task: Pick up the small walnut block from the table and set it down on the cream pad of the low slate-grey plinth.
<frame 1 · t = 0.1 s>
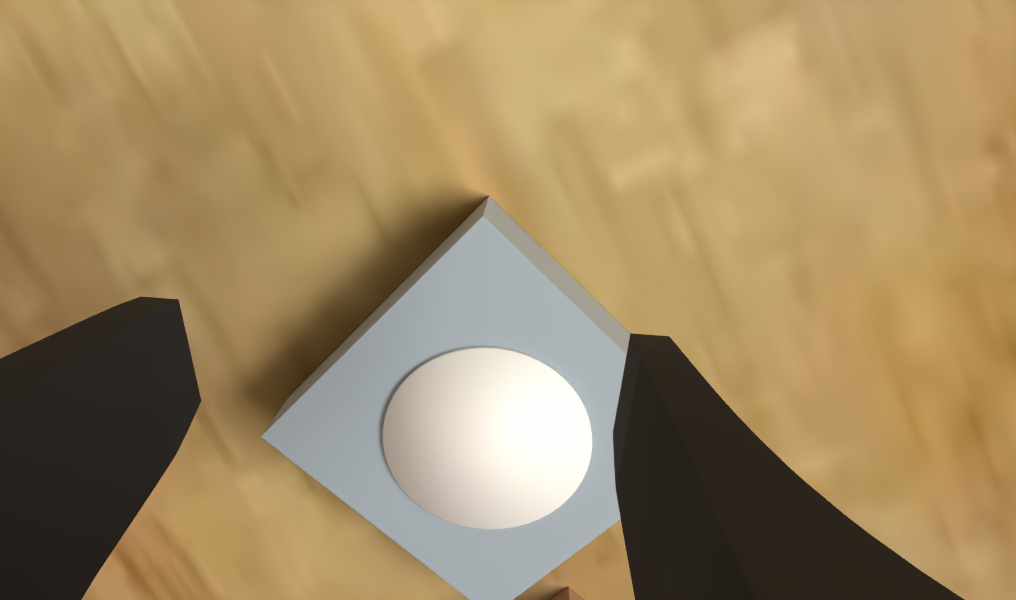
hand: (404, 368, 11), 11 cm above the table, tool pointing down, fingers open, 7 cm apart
plinth: (492, 400, 23), on the table
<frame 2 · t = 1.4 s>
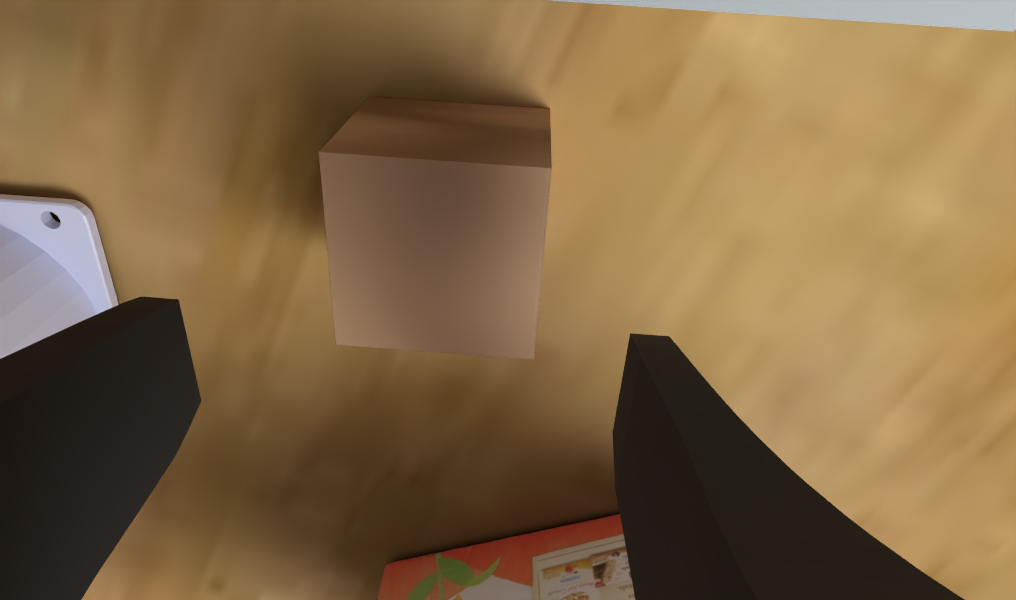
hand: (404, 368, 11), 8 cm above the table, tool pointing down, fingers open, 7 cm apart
cracker box: (582, 567, 26), on the table
walnut block: (458, 186, 18), on the table
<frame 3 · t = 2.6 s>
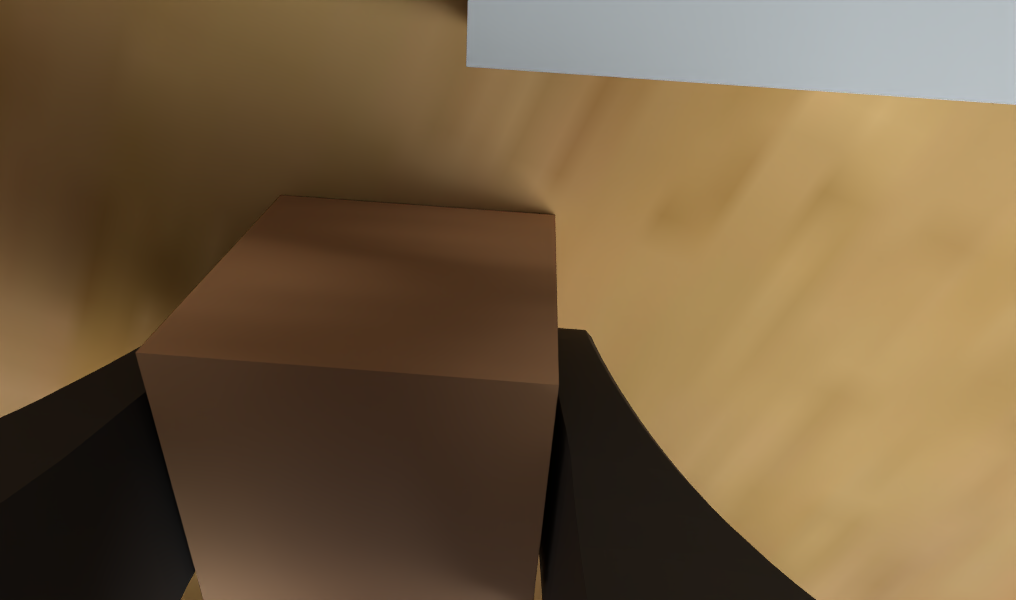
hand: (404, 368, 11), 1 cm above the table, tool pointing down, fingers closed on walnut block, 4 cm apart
walnut block: (419, 321, 12), on the table, touching gripper
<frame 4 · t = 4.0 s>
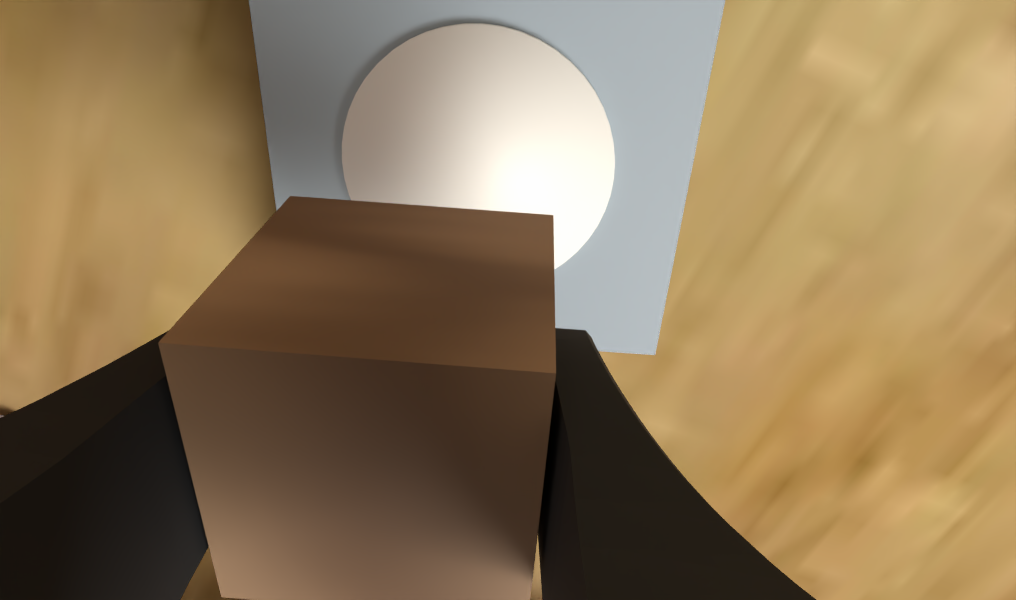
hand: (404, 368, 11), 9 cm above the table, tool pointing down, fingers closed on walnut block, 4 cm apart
walnut block: (422, 317, 13), point 7 cm above the table, touching gripper
plinth: (486, 136, 18), on the table
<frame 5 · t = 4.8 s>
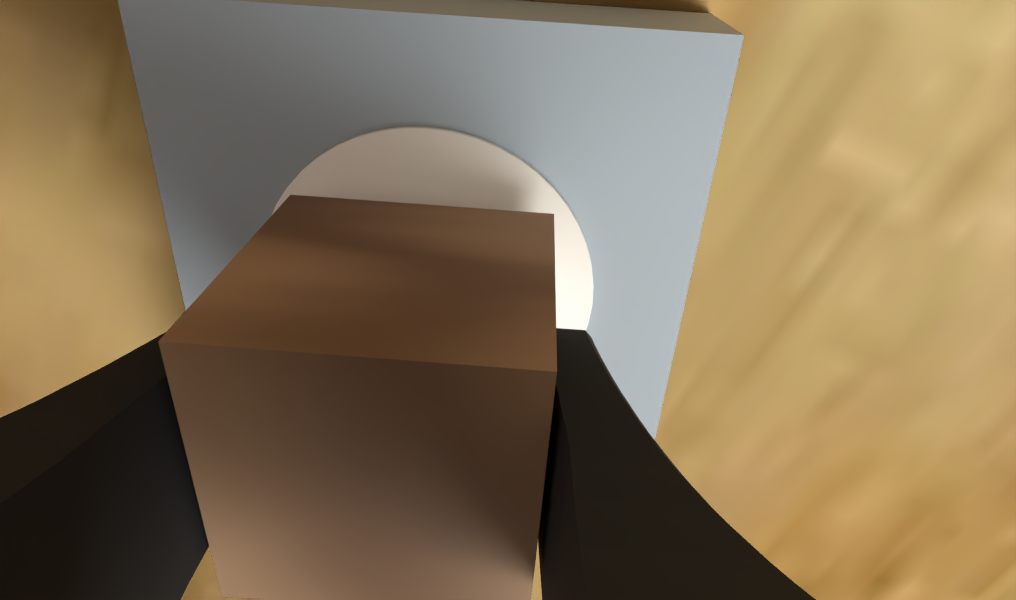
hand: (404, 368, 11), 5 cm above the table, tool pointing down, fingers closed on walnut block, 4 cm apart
walnut block: (422, 316, 13), point 3 cm above the table, touching gripper
plinth: (445, 234, 15), on the table
when the fingers open (5 cm above the table, at t = 5.4 s): walnut block stays where it is, resting on plinth.
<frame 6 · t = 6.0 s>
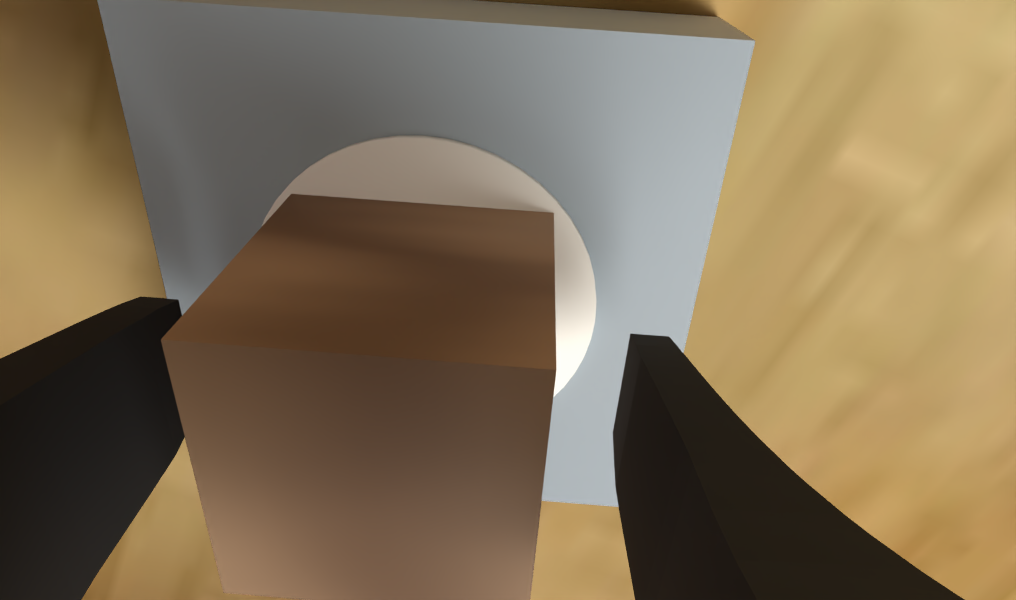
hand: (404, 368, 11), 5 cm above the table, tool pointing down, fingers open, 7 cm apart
walnut block: (423, 314, 13), point 3 cm above the table, touching plinth
plinth: (443, 244, 15), on the table
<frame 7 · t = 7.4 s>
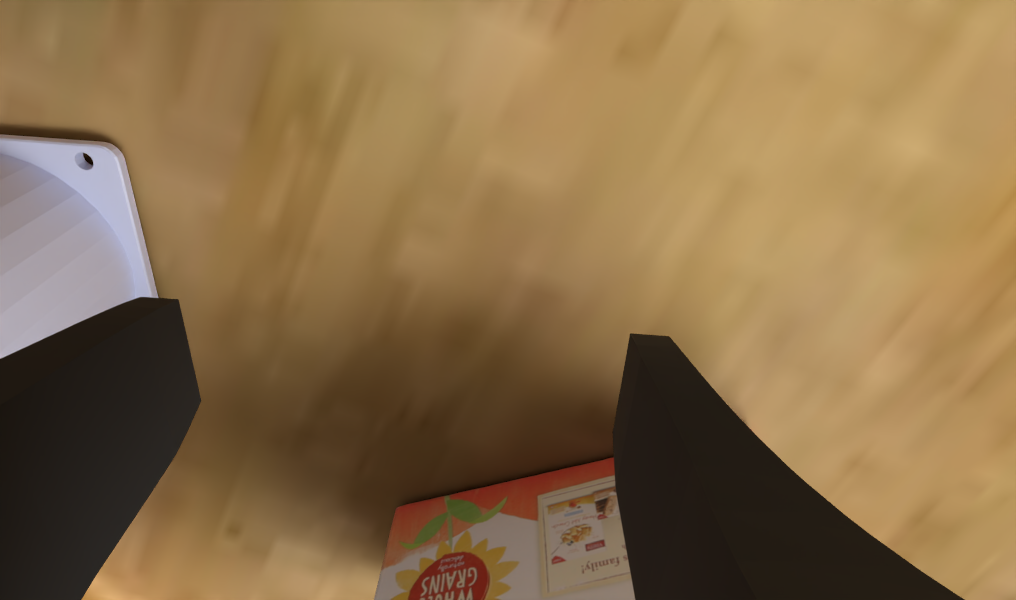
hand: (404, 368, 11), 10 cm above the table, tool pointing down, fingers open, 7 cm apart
cracker box: (585, 511, 27), on the table
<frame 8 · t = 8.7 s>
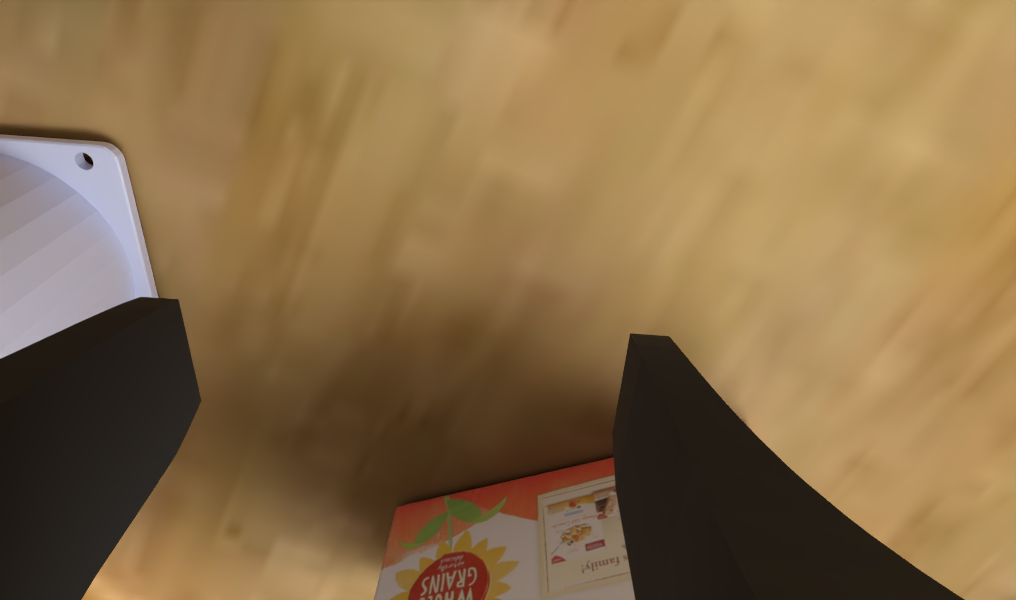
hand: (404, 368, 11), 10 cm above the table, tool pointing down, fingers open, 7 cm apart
cracker box: (585, 511, 27), on the table
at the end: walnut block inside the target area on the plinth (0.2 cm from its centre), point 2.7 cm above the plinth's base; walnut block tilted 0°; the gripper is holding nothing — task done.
